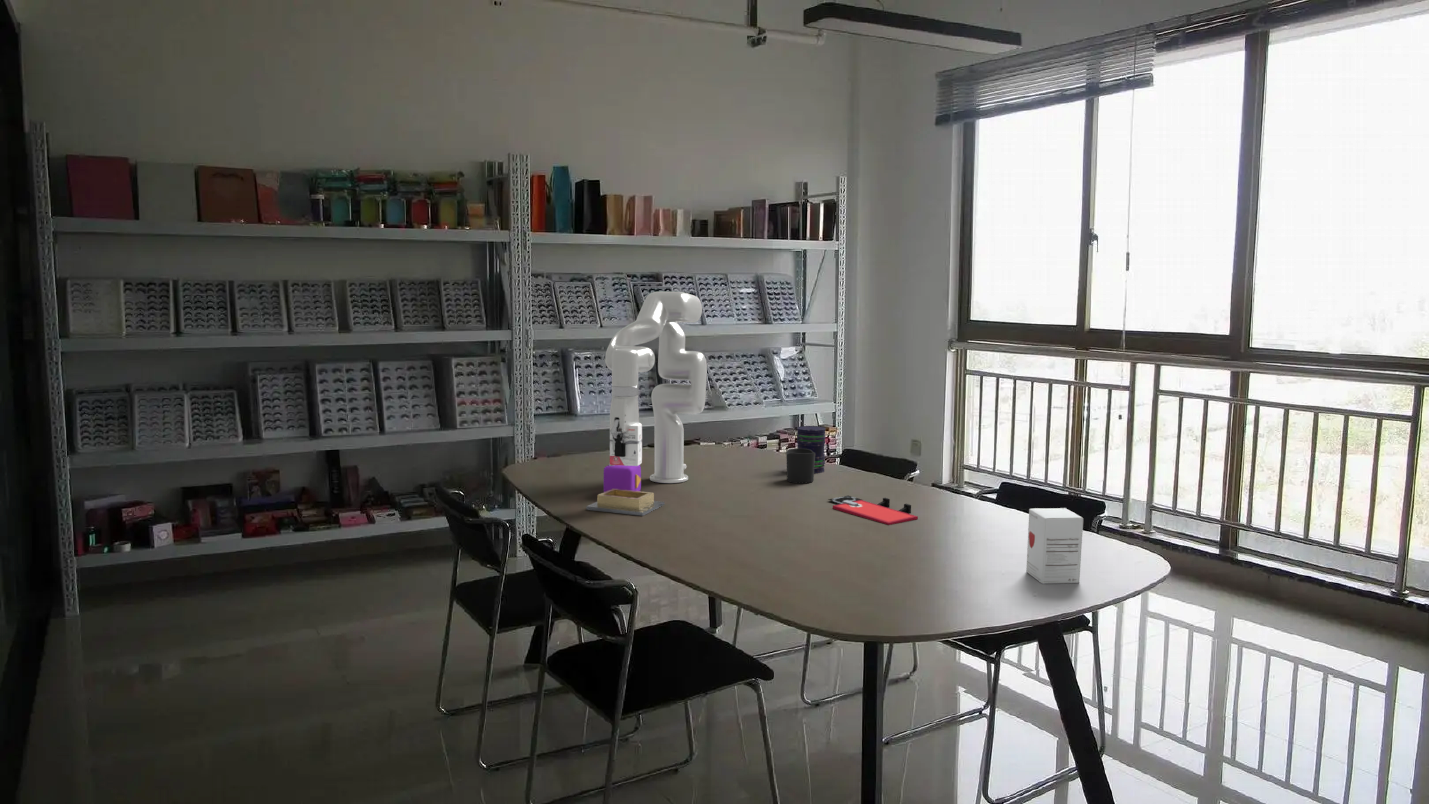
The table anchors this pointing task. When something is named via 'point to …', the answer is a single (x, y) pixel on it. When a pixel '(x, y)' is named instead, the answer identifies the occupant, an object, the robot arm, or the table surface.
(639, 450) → the ink box
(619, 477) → the toy camera
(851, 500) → the red board with handle
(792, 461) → the pen holder
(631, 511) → the mount collar
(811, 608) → the table surface
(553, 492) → the table surface
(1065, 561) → the supplement box
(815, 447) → the storage jar
